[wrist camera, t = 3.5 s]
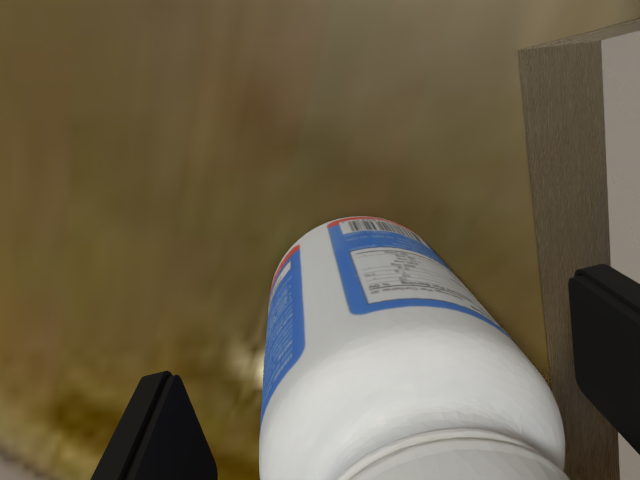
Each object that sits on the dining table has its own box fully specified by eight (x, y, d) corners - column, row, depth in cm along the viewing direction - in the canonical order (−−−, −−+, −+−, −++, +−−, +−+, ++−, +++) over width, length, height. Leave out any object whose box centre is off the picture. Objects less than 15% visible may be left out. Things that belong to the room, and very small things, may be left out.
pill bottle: (332, 396, 16) (388, 830, 7) (234, 276, 14) (132, 630, 5) (474, 311, 15) (753, 668, 6) (387, 174, 14) (587, 377, 4)
